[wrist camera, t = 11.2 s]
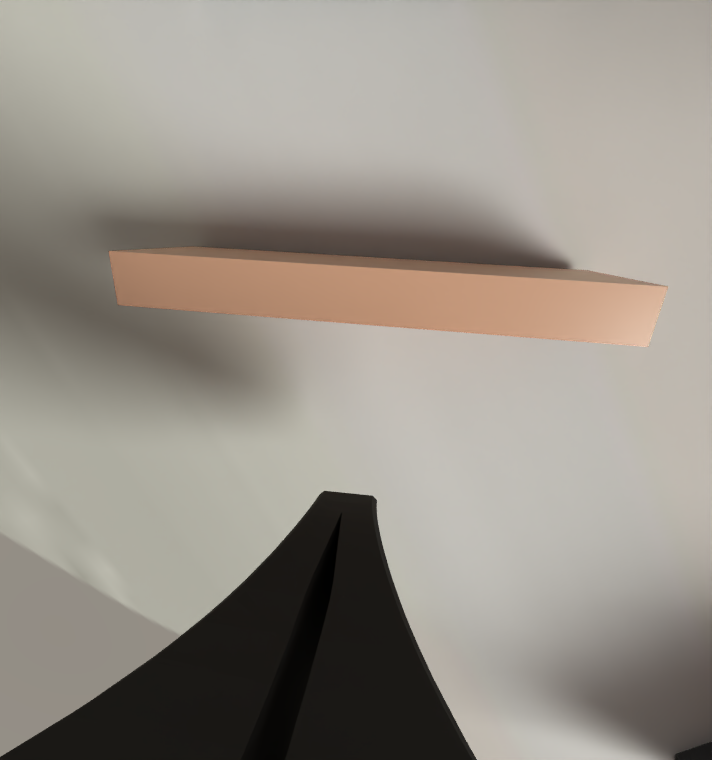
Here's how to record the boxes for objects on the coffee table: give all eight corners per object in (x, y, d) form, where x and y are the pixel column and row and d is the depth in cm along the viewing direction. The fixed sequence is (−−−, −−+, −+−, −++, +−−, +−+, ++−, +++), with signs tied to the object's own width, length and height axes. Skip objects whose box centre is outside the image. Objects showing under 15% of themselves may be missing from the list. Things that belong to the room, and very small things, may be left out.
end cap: (587, 270, 11) (668, 287, 7) (576, 313, 11) (647, 346, 8) (193, 246, 12) (108, 251, 9) (196, 285, 12) (118, 305, 9)
